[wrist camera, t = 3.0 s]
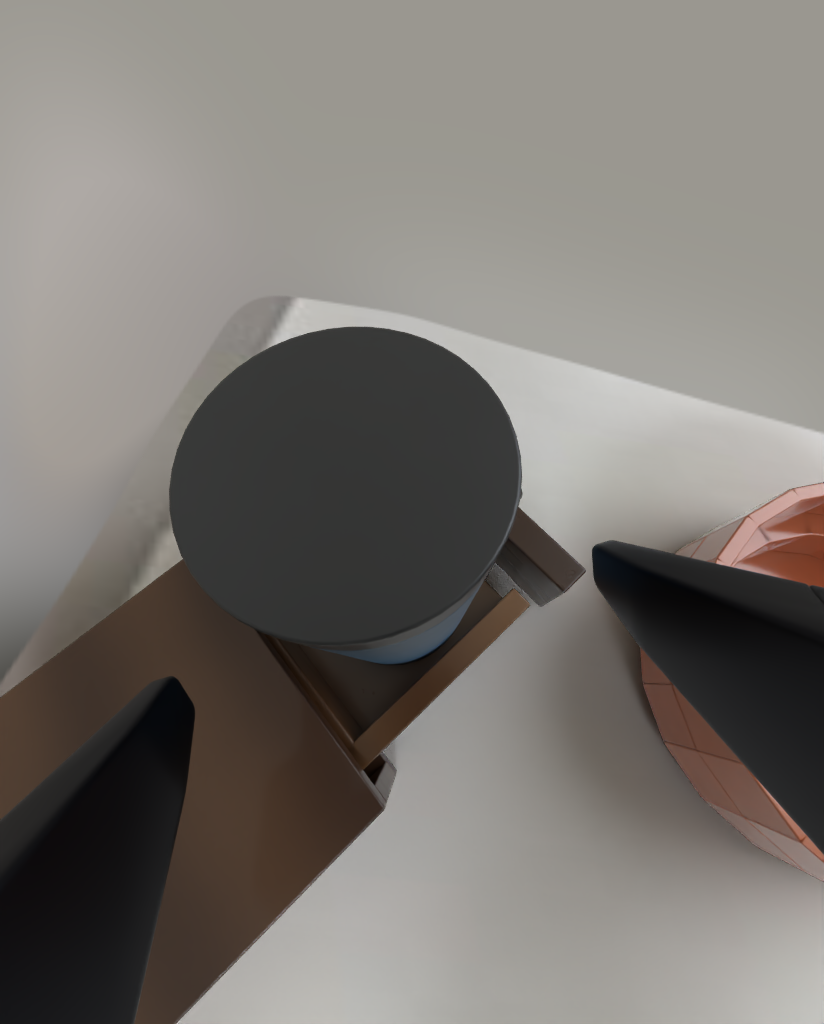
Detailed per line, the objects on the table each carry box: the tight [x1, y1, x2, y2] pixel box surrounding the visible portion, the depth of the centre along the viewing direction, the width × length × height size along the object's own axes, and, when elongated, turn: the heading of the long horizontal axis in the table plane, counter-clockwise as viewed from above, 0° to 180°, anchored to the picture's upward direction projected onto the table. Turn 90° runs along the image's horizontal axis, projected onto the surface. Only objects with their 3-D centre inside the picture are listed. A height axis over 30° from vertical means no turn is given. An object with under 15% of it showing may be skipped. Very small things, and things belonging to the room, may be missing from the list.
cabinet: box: [0, 559, 397, 1024], centre depth 14 cm, size 11×10×5 cm
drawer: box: [264, 489, 586, 770], centre depth 17 cm, size 12×9×3 cm
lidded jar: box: [169, 327, 522, 665], centre depth 12 cm, size 6×6×11 cm
